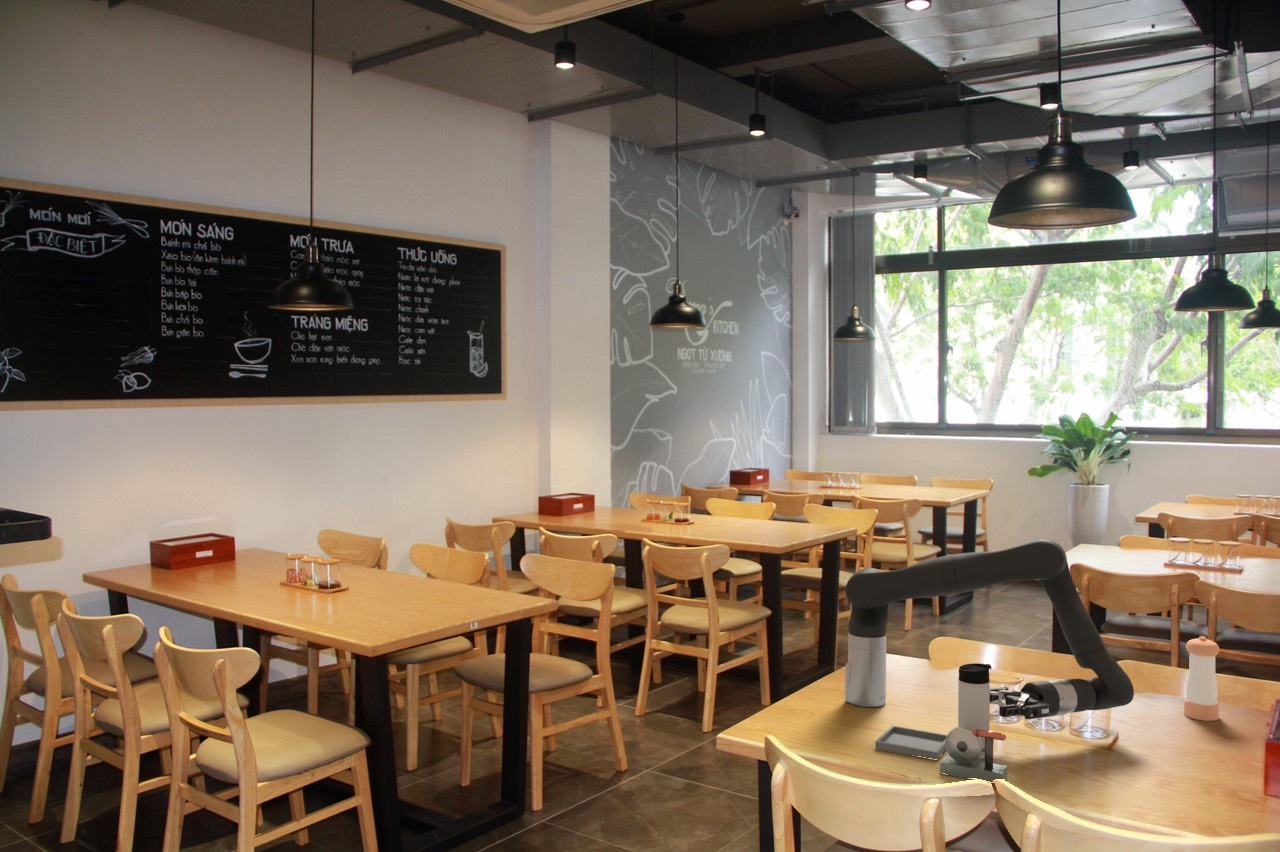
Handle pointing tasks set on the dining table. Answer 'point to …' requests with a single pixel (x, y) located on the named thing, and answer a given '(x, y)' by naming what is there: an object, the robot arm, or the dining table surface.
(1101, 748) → the dining table surface
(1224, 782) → the dining table surface
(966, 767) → the crank stand
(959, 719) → the travel mug
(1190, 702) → the salt shaker
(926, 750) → the tray
